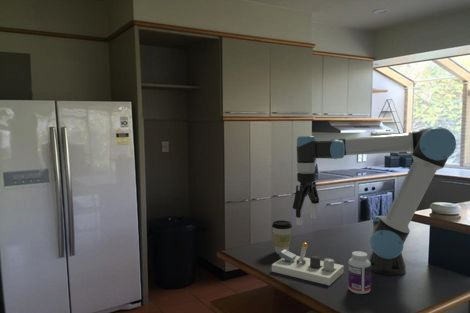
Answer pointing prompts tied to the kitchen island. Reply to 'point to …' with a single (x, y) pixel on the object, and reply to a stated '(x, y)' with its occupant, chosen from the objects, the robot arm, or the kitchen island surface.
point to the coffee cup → (281, 235)
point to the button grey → (328, 265)
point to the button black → (315, 262)
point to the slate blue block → (287, 255)
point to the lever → (303, 252)
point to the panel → (307, 270)
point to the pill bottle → (359, 273)
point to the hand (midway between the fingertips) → (306, 221)
